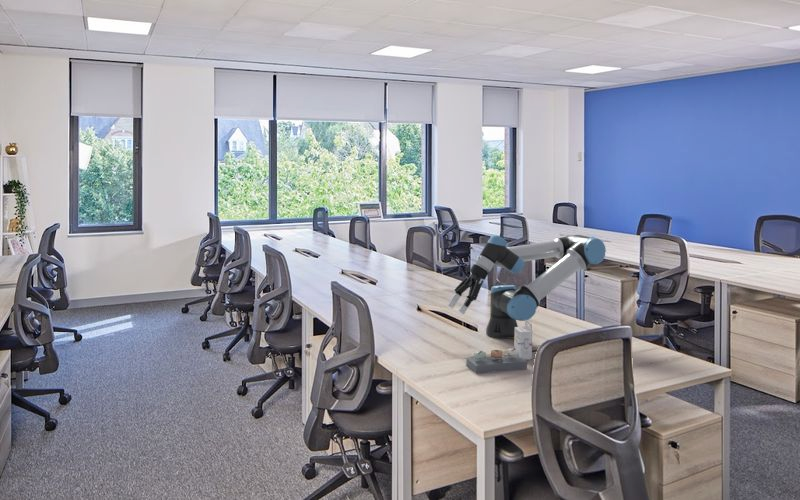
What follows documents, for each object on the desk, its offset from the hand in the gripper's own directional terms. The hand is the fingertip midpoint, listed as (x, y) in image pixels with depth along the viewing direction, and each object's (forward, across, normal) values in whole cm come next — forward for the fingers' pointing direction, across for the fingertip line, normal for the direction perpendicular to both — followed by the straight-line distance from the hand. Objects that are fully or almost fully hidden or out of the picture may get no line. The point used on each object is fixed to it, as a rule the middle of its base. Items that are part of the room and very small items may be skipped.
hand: (455, 309), depth 271 cm
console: (+11, +30, +15) cm, 35 cm away
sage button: (+11, +30, +7) cm, 33 cm away
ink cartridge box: (+2, +20, +28) cm, 34 cm away
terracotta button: (+8, +30, +12) cm, 33 cm away
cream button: (+4, +30, +18) cm, 35 cm away
